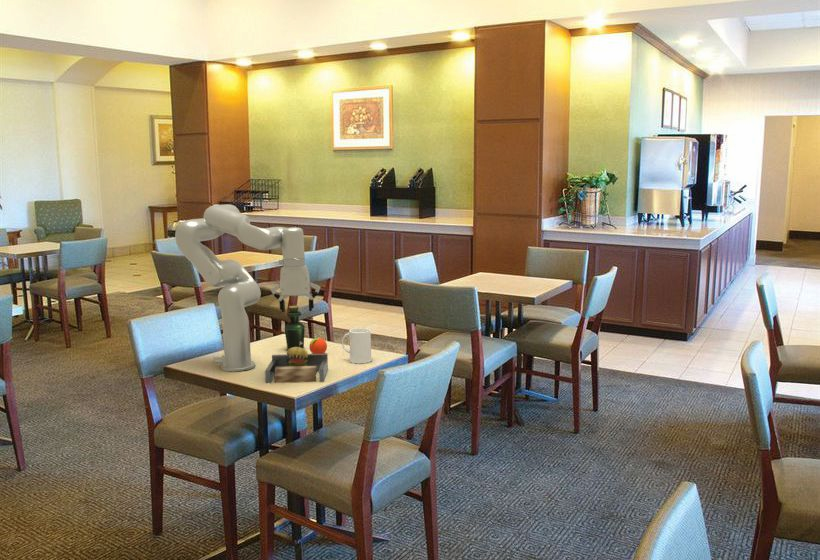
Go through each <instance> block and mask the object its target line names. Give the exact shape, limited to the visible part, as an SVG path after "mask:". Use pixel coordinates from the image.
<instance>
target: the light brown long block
mask: <svg viewBox="0 0 820 560" xmlns="http://www.w3.org/2000/svg"><path fill="white" fill-rule="evenodd" d="M317 373H318V371H317V366H288V367H276V368H275V376H274V377H273V379H274V383H276V382H282V383H310V382H311V383H313V382H316V380H317Z"/></svg>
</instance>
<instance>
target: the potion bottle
mask: <svg viewBox="0 0 820 560" xmlns="http://www.w3.org/2000/svg"><path fill="white" fill-rule="evenodd" d="M288 308H289V309H288V310H289V311H287V313H286V317H289V320H290V322H288V323H287V324H285V326H284V332H285V333H284V334H285V341H286V350H287V351H288V349H290V348H292V347H300V348H303V349H304V348H305V347H304V346H305V325H304V324H303V323H302V322H300V321H299V318H300V316H302V313H301V311H299V306H298V305H289V306H288ZM300 342H302V343H303V344H301V345H300ZM299 345H300V346H299Z"/></svg>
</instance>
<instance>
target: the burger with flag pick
mask: <svg viewBox="0 0 820 560" xmlns="http://www.w3.org/2000/svg"><path fill="white" fill-rule="evenodd" d="M301 344H303V343H302V342H300V345H301ZM300 345H299V346H300ZM308 354H309V353H308V351H307V350H306V349H303V348H300V347H292V348H290V349H288V350H287V351H286V355H289V358H290V357H291V356H293V357H295V358H291V359H290V360H289V362H288V363H289V366H306V365H307V360H306V358H308Z"/></svg>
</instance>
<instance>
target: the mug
mask: <svg viewBox="0 0 820 560" xmlns="http://www.w3.org/2000/svg"><path fill="white" fill-rule="evenodd" d="M371 334H372V333H371V329H369V328H366V327H354V328H351V329H349V331H348V332H347V333H345V334H344V335H343V337H342V338H341V346H342V348H343V350H344V351H345V352H346V353H348V354H349V362H350V363H351V362H352V363H351V364H355V363H357V364H359V363H364V364H368V363H367V362H369V363H371V362H372V361H373V359H372V338H371V337H372V335H371ZM347 337H349V349H347V348H346V347H345V344H344V340H345V338H347ZM370 361H371V362H370ZM357 364H356V365H357ZM359 365H360V364H359Z"/></svg>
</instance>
